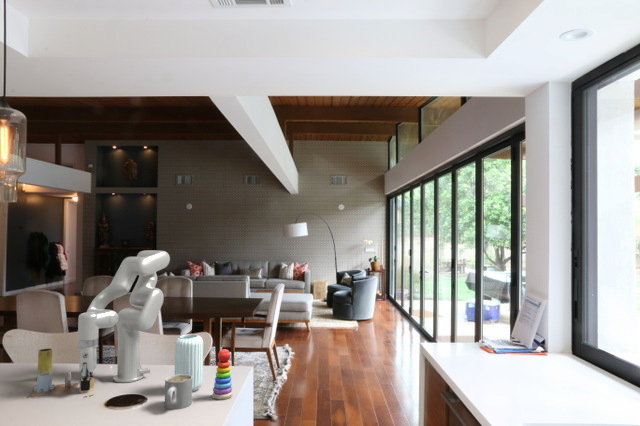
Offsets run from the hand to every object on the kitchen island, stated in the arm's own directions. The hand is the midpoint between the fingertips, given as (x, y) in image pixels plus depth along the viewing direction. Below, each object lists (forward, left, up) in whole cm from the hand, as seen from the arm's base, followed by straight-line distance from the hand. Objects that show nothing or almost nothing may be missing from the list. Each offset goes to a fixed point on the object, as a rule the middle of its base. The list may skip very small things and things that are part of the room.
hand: (86, 387), depth 183 cm
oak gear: (0, 0, -3) cm, 3 cm away
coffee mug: (-35, +24, -3) cm, 43 cm away
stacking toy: (-53, +19, -3) cm, 56 cm away
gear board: (+13, -5, -3) cm, 14 cm away
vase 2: (-40, +6, -3) cm, 41 cm away
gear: (+17, -7, -1) cm, 19 cm away
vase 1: (+21, -22, -3) cm, 31 cm away
